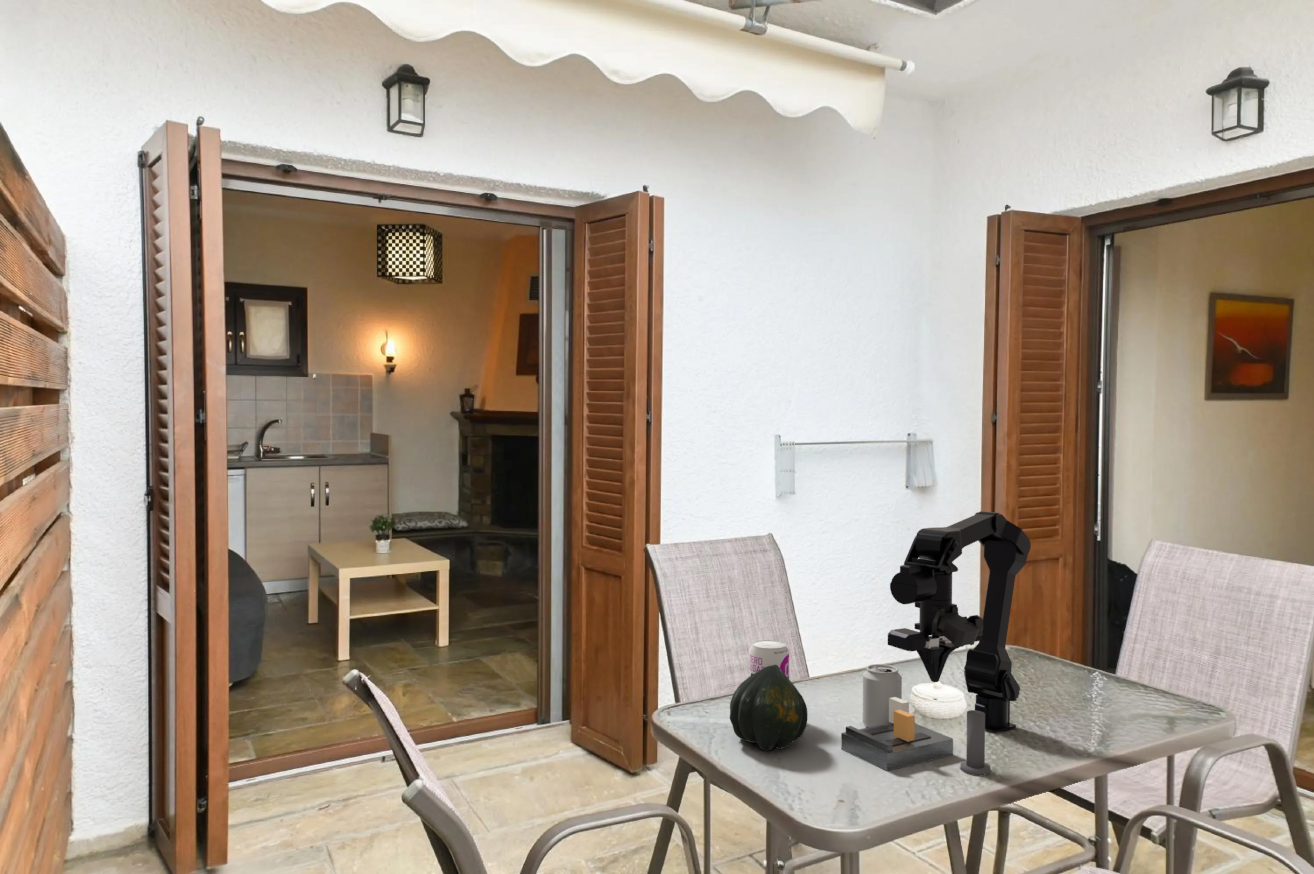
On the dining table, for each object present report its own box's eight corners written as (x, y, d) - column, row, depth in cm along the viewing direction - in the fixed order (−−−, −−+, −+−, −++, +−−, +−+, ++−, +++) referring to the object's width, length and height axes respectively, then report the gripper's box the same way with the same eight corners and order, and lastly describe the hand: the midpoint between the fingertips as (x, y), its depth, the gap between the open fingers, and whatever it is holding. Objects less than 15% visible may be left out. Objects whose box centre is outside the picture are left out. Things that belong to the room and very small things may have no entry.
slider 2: (900, 733, 167) (900, 709, 167) (914, 740, 164) (914, 715, 164) (893, 735, 166) (893, 710, 166) (907, 741, 163) (908, 716, 163)
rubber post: (974, 762, 162) (974, 706, 162) (996, 771, 158) (997, 714, 158) (954, 767, 160) (954, 711, 160) (976, 777, 156) (977, 719, 155)
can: (902, 734, 177) (903, 673, 176) (862, 732, 178) (863, 671, 178) (900, 722, 184) (900, 663, 184) (862, 719, 185) (862, 661, 185)
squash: (729, 730, 163) (781, 664, 165) (705, 708, 177) (754, 647, 180) (786, 778, 165) (836, 712, 168) (757, 752, 180) (804, 692, 182)
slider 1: (895, 720, 175) (895, 696, 174) (908, 725, 171) (908, 701, 171) (888, 721, 174) (889, 697, 174) (902, 727, 171) (902, 703, 171)
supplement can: (793, 713, 189) (793, 641, 189) (781, 725, 182) (782, 650, 182) (756, 708, 193) (756, 637, 192) (743, 719, 185) (743, 646, 185)
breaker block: (905, 734, 177) (905, 713, 177) (952, 754, 166) (953, 731, 166) (841, 748, 169) (841, 726, 169) (886, 770, 158) (886, 746, 158)
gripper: (931, 610, 157) (930, 700, 157) (1006, 600, 166) (1005, 686, 166) (885, 599, 166) (885, 684, 167) (959, 590, 175) (958, 671, 176)
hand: (934, 681), depth 168 cm, fingers closed
